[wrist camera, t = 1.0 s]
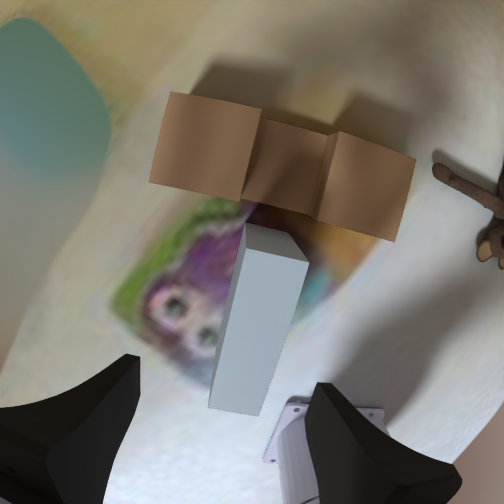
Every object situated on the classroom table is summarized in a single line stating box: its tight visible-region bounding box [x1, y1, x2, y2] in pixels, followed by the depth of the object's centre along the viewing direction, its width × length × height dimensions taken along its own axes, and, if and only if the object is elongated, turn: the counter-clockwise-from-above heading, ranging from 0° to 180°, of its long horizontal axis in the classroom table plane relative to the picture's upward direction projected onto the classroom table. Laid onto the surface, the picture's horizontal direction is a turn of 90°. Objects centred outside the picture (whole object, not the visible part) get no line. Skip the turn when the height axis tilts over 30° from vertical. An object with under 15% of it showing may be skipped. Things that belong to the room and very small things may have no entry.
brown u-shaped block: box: [149, 92, 416, 242], centre depth 18 cm, size 14×5×4 cm, turn 76°
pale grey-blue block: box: [208, 222, 309, 416], centre depth 18 cm, size 3×9×7 cm, turn 166°
